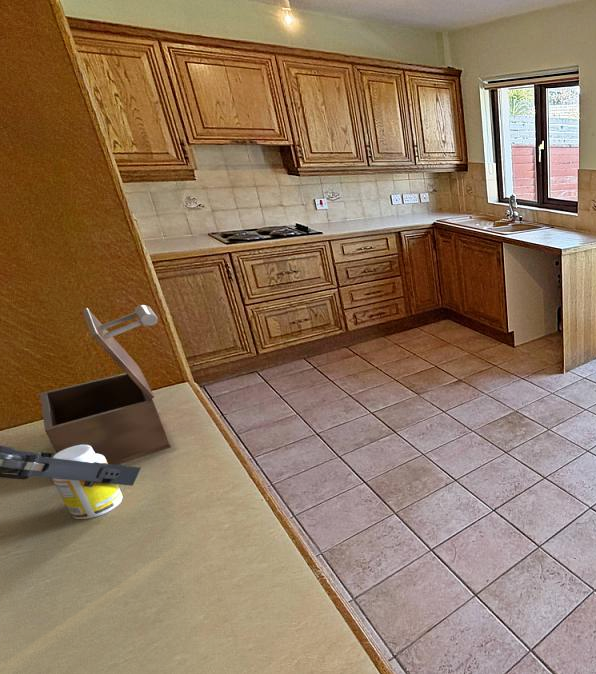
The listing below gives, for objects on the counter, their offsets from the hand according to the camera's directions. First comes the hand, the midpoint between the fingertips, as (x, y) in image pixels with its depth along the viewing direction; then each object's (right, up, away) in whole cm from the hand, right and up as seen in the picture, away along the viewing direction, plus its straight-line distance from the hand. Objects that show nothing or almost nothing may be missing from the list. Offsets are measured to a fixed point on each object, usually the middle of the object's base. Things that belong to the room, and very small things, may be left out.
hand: (115, 474), depth 74 cm
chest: (-12, +2, +12) cm, 17 cm away
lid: (-8, +19, +8) cm, 22 cm away
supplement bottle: (-1, -5, -2) cm, 5 cm away
